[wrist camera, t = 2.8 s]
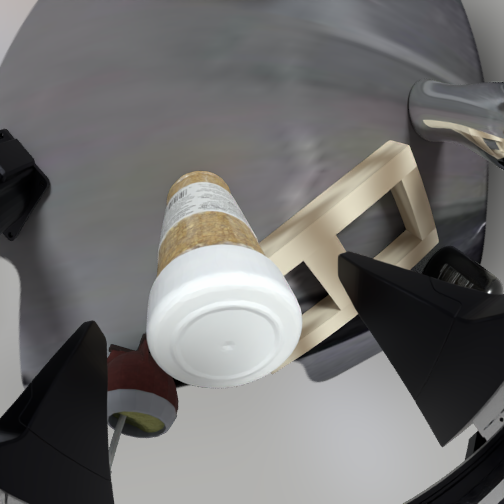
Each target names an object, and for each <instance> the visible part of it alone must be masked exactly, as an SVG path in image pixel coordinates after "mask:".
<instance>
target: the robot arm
mask: <svg viewBox="0 0 504 504" xmlns="http://www.w3.org/2000/svg"><path fill="white" fill-rule="evenodd" d="M2 134H4V137H3V138H2ZM41 181H44V186H43V185H42V184H41ZM48 186H49V179H48V177H47V176H46V175H45V174H44V173H43V172H42V171H41V170H40V169H39V167H38V166H37V165H36V164H35V161H34V159H33V158H32V156H31V155H30V154H29V153H28V152H27V150H26V149H25V148H24V147H23V146H22V144H21V143H20V142H19V141H18V140H17V139H14V138H13V136H12V135H11V134H10V133H9V131H8V130H7V129H2V130H0V235H1V234H2V233H3V234H4V235H5V236H6V237H7V238H8V239H9V240H10V241H13V240H14V239H15V238H16V237H17V235H18V234H19V232H20V230H21V228H22V227H23V225H24V223H25V222H26V220H27V218H28V217H29V215H30V214H31V212H32V210H33V209H34V207H35V206H36V204H37V203H38V201H39V200H40V198H41V197H42V195H43V194H44V192H45V191H46V189H47V188H48ZM10 232H11V233H12V235H13V236H12V235H11V233H10ZM338 277H339V280H340V282H341V284H342V285H343V287H344V289H345V291H346V293H347V295H348V296H349V298H350V300H351V302H352V304H353V306H354V308H355V309H356V311H357V313H358V314H359V316H360V317H361V319H362V320H363V322H364V323H365V324H366V326H367V327H368V329H369V330H370V332H371V333H372V335H373V336H374V338H375V339H376V341H377V342H378V344H379V345H380V347H381V348H382V350H383V351H384V353H385V354H386V356H387V358H388V359H389V361H390V362H391V364H392V365H393V366H394V368H395V370H396V371H397V373H398V375H399V376H400V378H401V379H402V381H403V383H404V384H405V386H406V387H407V389H408V391H409V392H410V393H411V395H412V397H413V399H414V400H415V402H416V404H417V406H418V407H419V409H420V410H421V412H422V414H423V416H424V417H425V419H426V421H427V422H428V424H429V425H430V428H431V429H432V431H433V433H434V435H435V436H436V438H437V440H438V442H439V443H440V445H441V446H442V447H444V446H445V445H446V444H448V443H449V442H450V441H452V440H453V439H454V438H455V437H457V436H458V435H459V434H461V433H462V432H463V431H464V430H465V429H467V428H468V427H469V426H470V425H471V424H474V425H475V426H476V428H477V429H478V431H477V432H476V433H475V434H474V435H473V436H472V437H471V438H470V439H469V443H468V449H467V453H466V458H465V461H464V462H463V463H461V464H460V465H459V466H458V467H456V468H455V469H454V470H453V471H451V472H450V473H449V474H447V475H446V476H445V477H443V478H442V479H441V480H439V481H438V482H436V483H435V484H433V485H432V486H430V487H429V488H427V489H426V490H424V491H423V492H421V493H420V494H418V495H417V496H415V497H413V498H412V499H410V500H408V501H407V502H405V503H403V504H504V294H490V293H486V292H482V291H478V290H474V289H471V288H467V287H463V286H459V285H455V284H452V283H448V282H445V281H442V280H439V279H436V278H433V277H429V276H426V275H423V274H420V273H417V272H414V271H411V270H408V269H405V268H401V267H398V266H395V265H392V264H389V263H385V262H382V261H379V260H376V259H372V258H369V257H366V256H363V255H359V254H356V253H353V252H349V251H348V252H344V253H341V254H339V255H338ZM107 393H108V369H107V343H106V338H105V336H104V334H103V333H102V331H101V330H100V328H99V327H98V325H97V323H96V322H95V321H93V320H92V321H88V322H84V323H83V324H82V325H81V326H80V327H79V328H78V329H77V330H76V331H75V333H74V334H73V335H72V336H71V337H70V338H69V339H68V340H67V341H66V342H65V344H64V345H63V346H62V347H61V348H60V349H59V350H58V351H57V352H56V354H55V355H54V356H53V357H52V358H51V359H50V360H49V362H48V363H47V364H46V365H45V366H44V367H43V369H42V370H41V371H40V372H39V373H38V375H37V376H36V377H35V378H34V379H33V381H32V383H30V384H29V385H28V387H27V388H26V389H25V390H24V391H23V393H22V394H21V395H20V396H19V398H18V399H17V400H16V401H15V402H14V403H13V404H12V406H11V407H10V408H9V409H8V410H7V411H6V412H5V413H4V415H3V416H2V417H1V418H0V504H114V498H113V491H112V483H111V474H110V464H109V450H108V426H107Z"/></svg>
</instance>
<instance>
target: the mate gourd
mask: <svg viewBox="0 0 504 504" xmlns="http://www.w3.org/2000/svg"><path fill="white" fill-rule="evenodd" d="M109 352H111V353H110V355H109V357H108V358H107V369H108V393H107V424H108V425H109V426H110V427H111V428H113V429H114V430H115V431H114V434H113V437H112V441H111V444H110V447H109V464H110V470H111V466H112V462H113V458H114V455H115V452H116V448H117V445H118V441H119V438H120V435H121V433H122V434H124V435H128V436H132V437H138V438H151V437H157V436H160V435H162V434H164V433H166V432H167V431H168V430H169V428H170V427H171V425H172V424H173V422H174V421H175V419H176V417H177V410H178V396H177V391H176V386H175V383H174V380H173V378H172V376H170V375H169V374H167V373H166V372H165V371H164V370H163V369H162V368H161V367H160V366H159V365H158V364H157V363H156V361H155V360H154V358H153V357H152V355H151V354H149V348H148V344H147V337H146V334H143V336H142V338H141V341H140V344H139V347H138V350H136V351H134V350H130V349H127V348H124V347H120V346H117V345H113V344H111V345H110V347H109ZM110 474H111V471H110Z"/></svg>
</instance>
